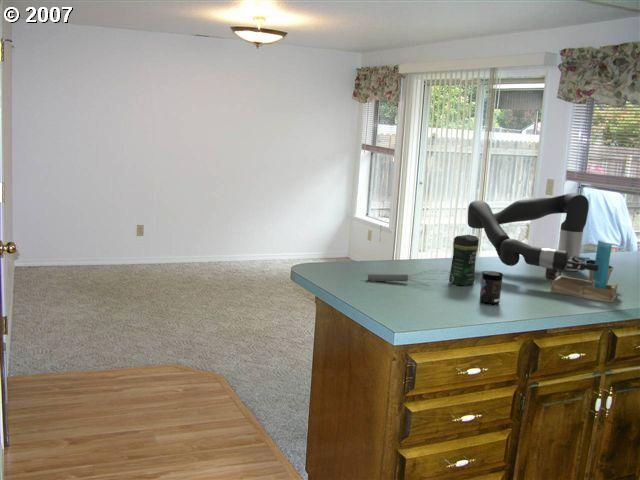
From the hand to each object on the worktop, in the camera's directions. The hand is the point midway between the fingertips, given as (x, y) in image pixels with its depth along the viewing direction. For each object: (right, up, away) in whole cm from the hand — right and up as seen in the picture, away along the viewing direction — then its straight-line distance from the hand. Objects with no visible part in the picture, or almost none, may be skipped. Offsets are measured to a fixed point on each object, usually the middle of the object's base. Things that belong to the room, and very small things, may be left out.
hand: (599, 266), depth 242 cm
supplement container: (-45, -12, -18) cm, 50 cm away
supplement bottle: (-7, -6, +29) cm, 31 cm away
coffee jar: (-49, -7, +8) cm, 50 cm away
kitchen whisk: (-70, -7, +2) cm, 70 cm away
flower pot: (+6, -9, +17) cm, 20 cm away
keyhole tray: (-5, -10, +4) cm, 12 cm away
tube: (0, -10, +1) cm, 10 cm away
